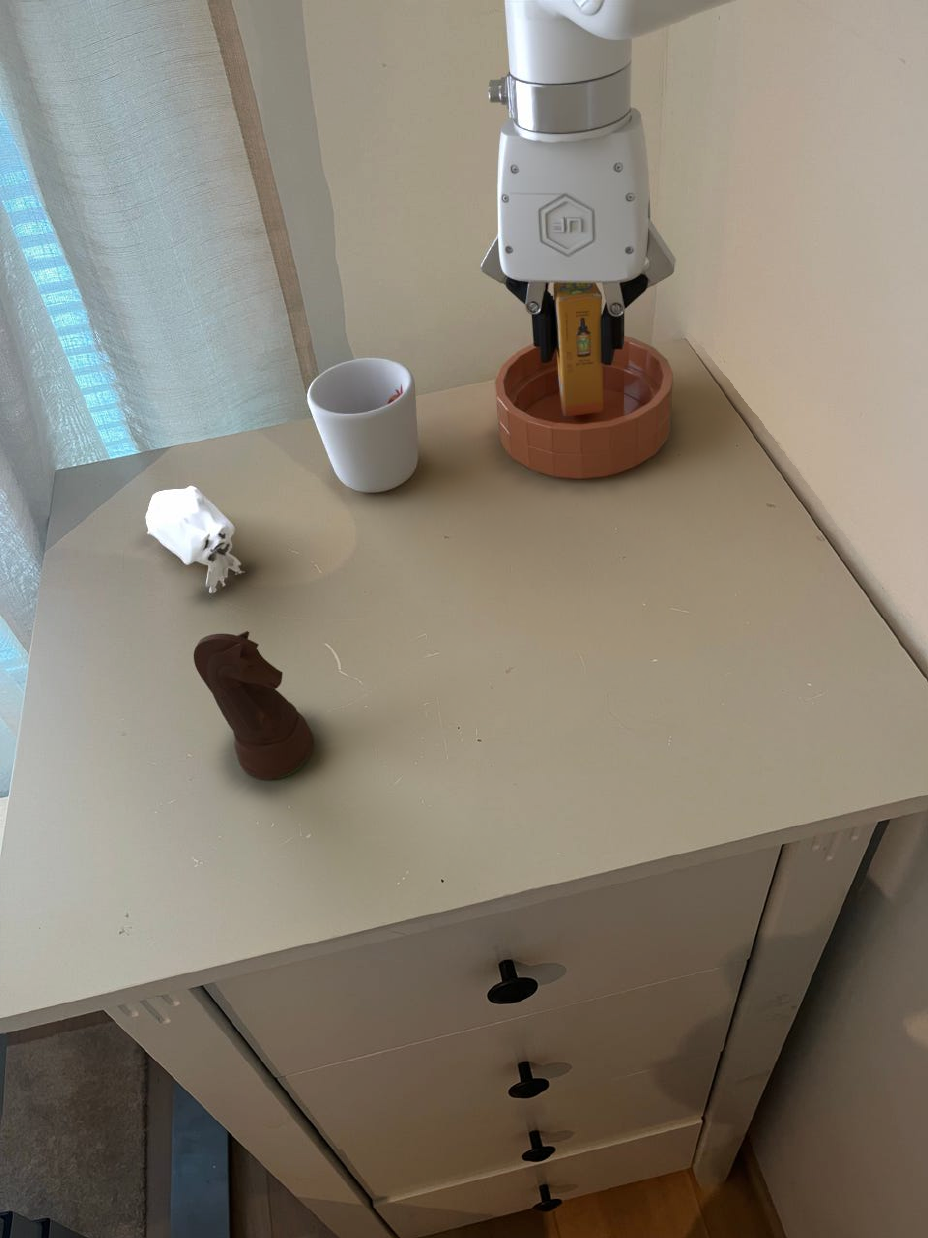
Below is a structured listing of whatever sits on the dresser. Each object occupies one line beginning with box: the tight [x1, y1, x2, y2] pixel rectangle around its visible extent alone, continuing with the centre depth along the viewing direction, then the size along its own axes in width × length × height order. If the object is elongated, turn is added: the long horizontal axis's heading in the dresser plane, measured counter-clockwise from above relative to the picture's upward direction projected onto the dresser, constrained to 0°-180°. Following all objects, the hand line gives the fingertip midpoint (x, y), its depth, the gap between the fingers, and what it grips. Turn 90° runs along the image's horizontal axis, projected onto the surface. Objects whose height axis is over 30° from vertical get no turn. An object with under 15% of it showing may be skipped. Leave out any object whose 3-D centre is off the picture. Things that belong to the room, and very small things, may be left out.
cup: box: [306, 357, 419, 494], centre depth 74 cm, size 11×8×8 cm
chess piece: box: [193, 630, 314, 781], centre depth 54 cm, size 5×5×10 cm
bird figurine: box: [145, 485, 245, 594], centre depth 70 cm, size 5×7×10 cm
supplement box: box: [552, 282, 604, 417], centre depth 73 cm, size 3×3×10 cm
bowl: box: [494, 335, 674, 480], centre depth 75 cm, size 13×13×5 cm
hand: (579, 352), depth 74 cm, fingers closed on supplement box, 4 cm apart
